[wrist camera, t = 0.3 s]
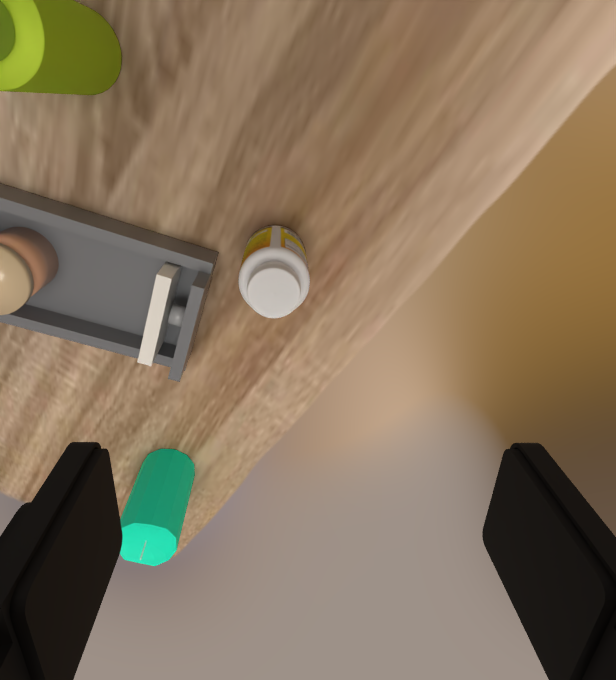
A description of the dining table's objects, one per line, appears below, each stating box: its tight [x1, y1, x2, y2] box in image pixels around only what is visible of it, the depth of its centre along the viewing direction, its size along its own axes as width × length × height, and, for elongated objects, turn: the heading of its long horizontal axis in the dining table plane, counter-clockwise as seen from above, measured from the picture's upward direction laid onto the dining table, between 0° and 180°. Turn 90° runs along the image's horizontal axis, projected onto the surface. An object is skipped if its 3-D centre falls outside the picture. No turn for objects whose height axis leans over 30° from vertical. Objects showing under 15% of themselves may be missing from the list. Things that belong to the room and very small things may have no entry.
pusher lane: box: [0, 183, 218, 382], centre depth 40 cm, size 11×20×7 cm, turn 71°
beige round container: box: [0, 227, 59, 315], centre depth 39 cm, size 6×6×6 cm
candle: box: [120, 449, 195, 566], centre depth 49 cm, size 6×6×12 cm
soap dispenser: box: [0, 0, 122, 95], centre depth 27 cm, size 6×7×20 cm
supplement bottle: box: [239, 226, 310, 318], centre depth 39 cm, size 6×6×10 cm
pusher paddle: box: [138, 261, 182, 366], centre depth 42 cm, size 8×1×5 cm, turn 161°
